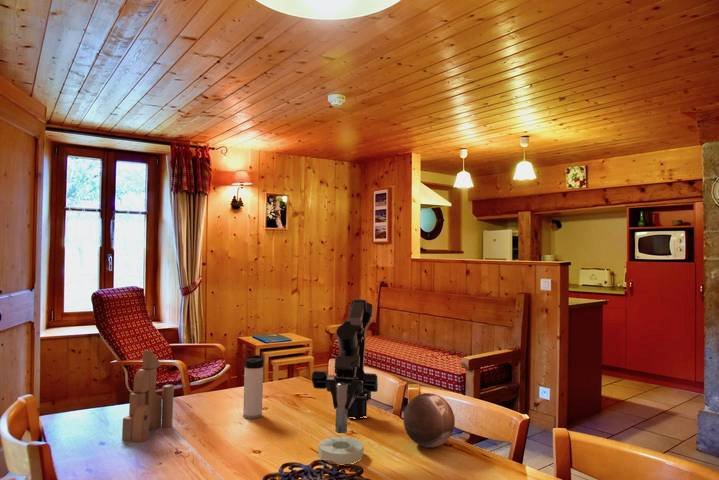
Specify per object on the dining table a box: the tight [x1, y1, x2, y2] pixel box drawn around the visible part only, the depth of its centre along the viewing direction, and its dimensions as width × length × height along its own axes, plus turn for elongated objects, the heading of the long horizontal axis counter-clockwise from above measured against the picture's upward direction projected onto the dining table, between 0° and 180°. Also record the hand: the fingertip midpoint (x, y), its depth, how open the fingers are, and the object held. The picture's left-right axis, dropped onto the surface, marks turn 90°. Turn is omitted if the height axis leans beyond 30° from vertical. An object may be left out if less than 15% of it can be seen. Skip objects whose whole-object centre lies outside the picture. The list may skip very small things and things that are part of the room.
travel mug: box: [242, 354, 264, 420], centre depth 165 cm, size 6×7×20 cm
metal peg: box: [335, 382, 348, 434], centre depth 134 cm, size 3×3×13 cm
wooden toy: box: [121, 349, 175, 443], centre depth 148 cm, size 16×7×25 cm, turn 166°
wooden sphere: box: [402, 392, 456, 448], centre depth 143 cm, size 15×15×15 cm
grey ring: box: [318, 436, 365, 464], centre depth 133 cm, size 12×12×3 cm
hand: (341, 408), depth 133 cm, fingers closed on metal peg, 3 cm apart
